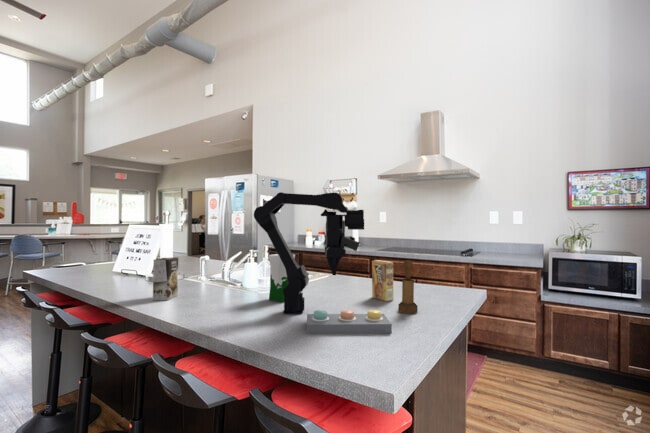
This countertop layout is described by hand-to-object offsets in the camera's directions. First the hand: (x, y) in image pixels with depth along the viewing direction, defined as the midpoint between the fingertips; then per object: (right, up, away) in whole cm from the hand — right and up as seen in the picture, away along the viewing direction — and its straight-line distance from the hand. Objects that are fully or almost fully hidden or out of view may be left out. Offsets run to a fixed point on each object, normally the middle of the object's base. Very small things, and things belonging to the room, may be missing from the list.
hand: (334, 275), depth 119 cm
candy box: (+20, -14, +22) cm, 33 cm away
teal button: (-5, -10, -16) cm, 20 cm away
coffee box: (-68, -13, +22) cm, 72 cm away
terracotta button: (+3, -10, -16) cm, 19 cm away
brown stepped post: (+26, -13, +3) cm, 29 cm away
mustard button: (+11, -10, -16) cm, 22 cm away
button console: (+3, -13, -16) cm, 21 cm away
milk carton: (-21, -13, +20) cm, 32 cm away
